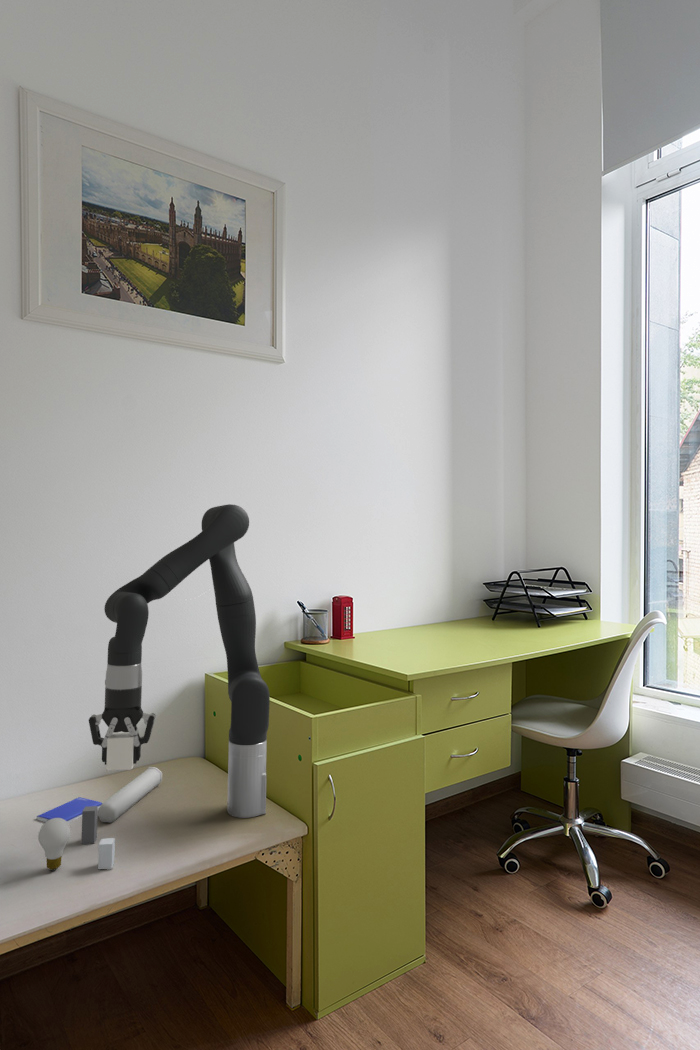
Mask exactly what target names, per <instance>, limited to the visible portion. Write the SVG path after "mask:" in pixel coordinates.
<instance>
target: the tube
mask: <svg viewBox="0 0 700 1050" xmlns="http://www.w3.org/2000/svg"><path fill="white" fill-rule="evenodd" d="M162 781H163V772H162V771H161V770H160V769H159V768H157V767H156V766H155V767H154V766H148V767H147V768H146V769H145V770H144V771H143V772H142V773H140V774H139V775H138V776H136V777H135V778H134V779H133V780H131V781H130V782H128V783H127V784H126V785H124V786H123V787H121V789H119V790H118V791H116V792H114V794H112V795H111V796H110V797H109V798H107V799H106V800H105V801H103V802H101V803H102V805H101V806H100V807H99V809H97V817H98V818H99V820H100V821H101V823H114V822H115V821H116V820H117V819H119V818H120V817H121V816H122V815H123V814H124V813H126V812H127V811H128V810H129V809H131V808H132V807H133V806H134V805H135V804H137V803H138V802H139V801H140V800H142V799H143V798H144V797H145V796H147V793H148V792H149V793H151V791H152V790H154V789H155V788H156V787H158V786H159V785H160V784H161V783H162ZM154 787H155V788H154ZM153 788H154V789H153ZM149 793H148V794H149ZM136 802H137V803H136Z"/></svg>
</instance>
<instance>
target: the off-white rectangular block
mask: <svg viewBox="0 0 700 1050" xmlns="http://www.w3.org/2000/svg"><path fill="white" fill-rule="evenodd" d="M133 751H134V737H130V734H129V732H122V731H121V732H118V733H113V735H112V736H111V738H110V737H108V739H107V763H106V765H105V766H106V767H105V768H106V769H105V770H106V771H128V770H129V771H130V770H133V768H134V766H135V764H133Z"/></svg>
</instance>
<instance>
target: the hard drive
mask: <svg viewBox="0 0 700 1050" xmlns="http://www.w3.org/2000/svg"><path fill="white" fill-rule="evenodd" d="M102 803H103V802H101V801H97V800H94V799H89V798H87V797H86V798H85V797H80V796H78V797H76V798H74V799H72V800H70V801H67V802H66V803H63V804H61V805H59V806H56V807H54V808H52V809H49V810H47V811H44V812H43V813H41V814H39V815H36V820H37V821H41V822H44V823H45V822H47V821H48V820H50V819H53V818H62V819H64V820H66V821H67V822H68V824H70V823H71V822H73V821H76V820H77V819H79V818H82V811H83V809H84V808H85V807H88V806H98V809H99V807H100V806H101V805H102ZM98 809H97V810H98Z"/></svg>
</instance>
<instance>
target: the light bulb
mask: <svg viewBox="0 0 700 1050" xmlns="http://www.w3.org/2000/svg"><path fill="white" fill-rule="evenodd" d="M71 834H72V829H71V826H70V823H68V822H67V821H66V820H64V819H62V818H53V819H50V820H48V821H47V822H44V823H43V824H42V826H41V828H40V829H39V832H38V835H37V837H38V843H39V844H40V847H42V849H43V852H44V854H45V857H46V868H47V869H48V870H49V871H52V870H53V871H56V870H57V869H58V868H60V867H61V865H62V857H63V856H62V855H63V853H64V850H65V847H66V845H67V844H68V842H69V840H70V838H71Z"/></svg>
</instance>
